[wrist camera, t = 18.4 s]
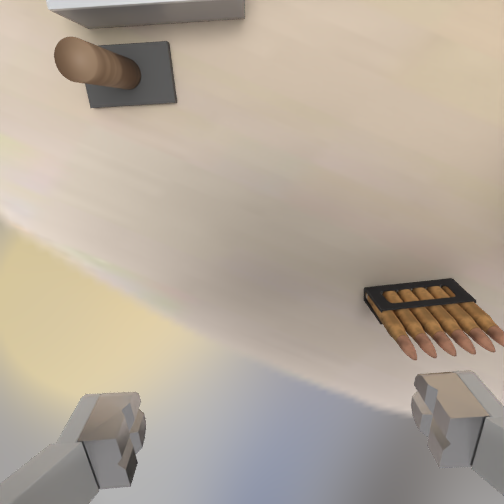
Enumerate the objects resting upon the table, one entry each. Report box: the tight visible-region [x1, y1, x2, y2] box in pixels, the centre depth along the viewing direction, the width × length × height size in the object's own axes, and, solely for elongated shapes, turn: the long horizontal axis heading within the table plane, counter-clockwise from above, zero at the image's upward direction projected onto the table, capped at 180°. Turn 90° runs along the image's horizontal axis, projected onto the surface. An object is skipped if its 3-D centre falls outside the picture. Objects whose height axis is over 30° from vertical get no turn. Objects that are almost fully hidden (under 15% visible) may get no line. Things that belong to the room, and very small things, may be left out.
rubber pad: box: [85, 41, 177, 108], centre depth 32 cm, size 8×5×1 cm, turn 93°
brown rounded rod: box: [54, 37, 141, 90], centre depth 27 cm, size 3×3×10 cm
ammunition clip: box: [364, 278, 504, 360], centre depth 37 cm, size 11×2×12 cm, turn 96°
